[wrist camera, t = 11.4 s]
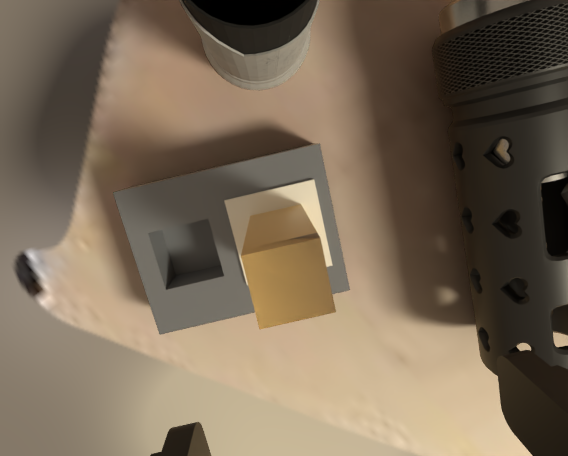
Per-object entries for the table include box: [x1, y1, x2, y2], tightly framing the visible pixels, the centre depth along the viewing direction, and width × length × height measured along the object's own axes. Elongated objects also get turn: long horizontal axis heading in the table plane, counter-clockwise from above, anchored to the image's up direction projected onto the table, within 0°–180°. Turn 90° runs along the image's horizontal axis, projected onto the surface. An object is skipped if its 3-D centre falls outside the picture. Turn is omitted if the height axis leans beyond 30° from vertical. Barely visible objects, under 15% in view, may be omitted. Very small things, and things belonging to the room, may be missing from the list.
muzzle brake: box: [432, 0, 568, 376], centre depth 30 cm, size 10×28×10 cm, turn 14°
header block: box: [113, 144, 350, 334], centre depth 32 cm, size 12×16×4 cm
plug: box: [241, 204, 336, 329], centre depth 25 cm, size 4×4×11 cm
